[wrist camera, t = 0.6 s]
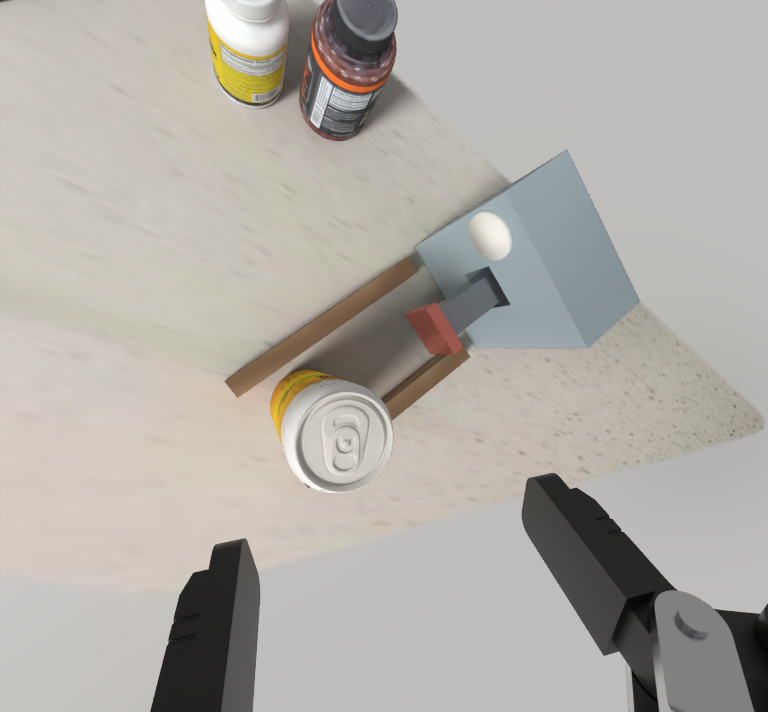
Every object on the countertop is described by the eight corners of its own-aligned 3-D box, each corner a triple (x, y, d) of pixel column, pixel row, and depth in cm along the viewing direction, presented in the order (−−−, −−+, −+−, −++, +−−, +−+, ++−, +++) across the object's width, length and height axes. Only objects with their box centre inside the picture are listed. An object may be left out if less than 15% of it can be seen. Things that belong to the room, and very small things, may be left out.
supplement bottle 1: (224, 30, 32) (215, -101, 22) (290, 65, 33) (306, -44, 24) (204, 91, 31) (186, -17, 22) (272, 123, 33) (281, 35, 24)
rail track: (226, 379, 32) (224, 381, 30) (400, 261, 37) (408, 256, 35) (305, 480, 34) (308, 488, 32) (459, 356, 39) (470, 356, 37)
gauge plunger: (405, 314, 32) (426, 309, 28) (490, 252, 34) (520, 240, 31) (430, 353, 33) (454, 354, 29) (511, 290, 35) (543, 283, 32)
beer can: (340, 370, 35) (402, 384, 21) (337, 436, 35) (397, 495, 21) (271, 368, 33) (289, 382, 19) (268, 438, 33) (283, 505, 19)
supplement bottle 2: (304, 63, 34) (330, -68, 23) (368, 91, 36) (420, -19, 25) (292, 130, 33) (312, 27, 23) (357, 153, 35) (405, 70, 25)
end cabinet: (410, 249, 37) (499, 195, 24) (458, 216, 39) (567, 149, 26) (471, 351, 40) (583, 352, 27) (515, 316, 42) (640, 301, 28)
